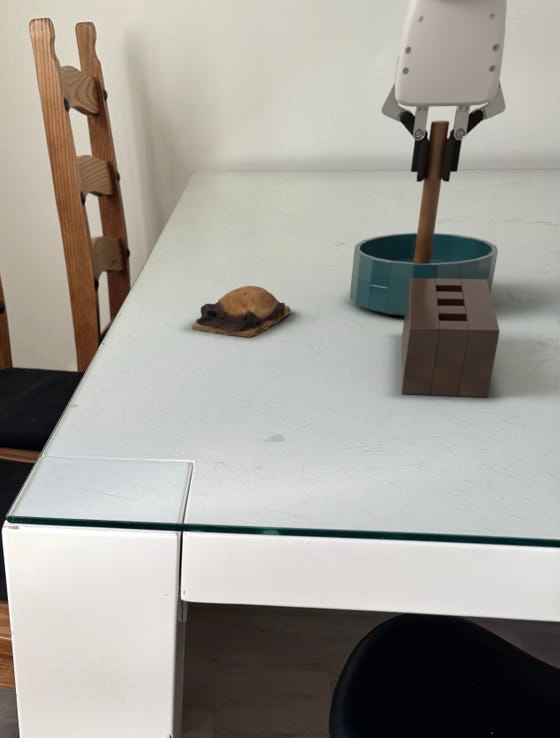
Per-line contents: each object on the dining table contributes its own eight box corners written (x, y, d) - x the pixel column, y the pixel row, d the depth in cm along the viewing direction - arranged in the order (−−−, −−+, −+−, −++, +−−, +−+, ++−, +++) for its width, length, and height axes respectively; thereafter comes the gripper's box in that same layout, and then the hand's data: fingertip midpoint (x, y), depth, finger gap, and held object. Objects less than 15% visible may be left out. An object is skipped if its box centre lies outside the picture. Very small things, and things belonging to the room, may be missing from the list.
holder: (476, 339, 103) (486, 279, 100) (487, 397, 89) (499, 330, 86) (401, 337, 105) (409, 277, 101) (401, 394, 91) (410, 328, 88)
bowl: (483, 286, 119) (492, 233, 116) (492, 323, 107) (502, 265, 104) (352, 284, 123) (357, 232, 120) (346, 319, 111) (351, 263, 107)
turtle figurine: (232, 305, 118) (233, 273, 116) (297, 314, 114) (299, 280, 112) (184, 328, 111) (185, 295, 109) (252, 339, 107) (254, 303, 105)
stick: (425, 295, 115) (449, 120, 105) (425, 299, 114) (449, 122, 104) (409, 294, 116) (431, 120, 106) (409, 298, 114) (431, 123, 104)
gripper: (544, -30, 99) (508, 173, 109) (377, -22, 103) (357, 173, 113) (553, -29, 93) (514, 185, 103) (375, -20, 97) (355, 186, 107)
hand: (432, 178), depth 108 cm, fingers closed
